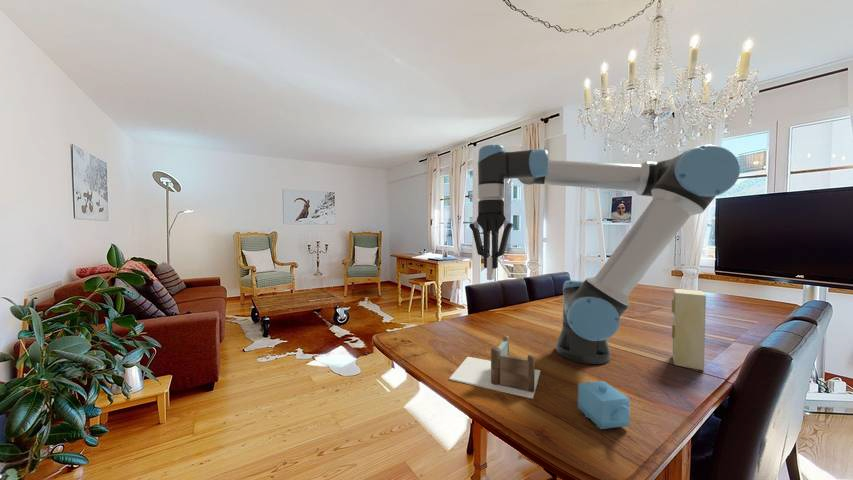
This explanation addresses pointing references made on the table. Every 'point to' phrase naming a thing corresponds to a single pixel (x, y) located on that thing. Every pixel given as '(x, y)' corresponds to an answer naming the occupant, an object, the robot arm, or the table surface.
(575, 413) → the table surface
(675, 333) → the toy refrigerator
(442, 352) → the table surface
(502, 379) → the fixed fence
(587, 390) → the teapot
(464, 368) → the card
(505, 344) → the swing panel
